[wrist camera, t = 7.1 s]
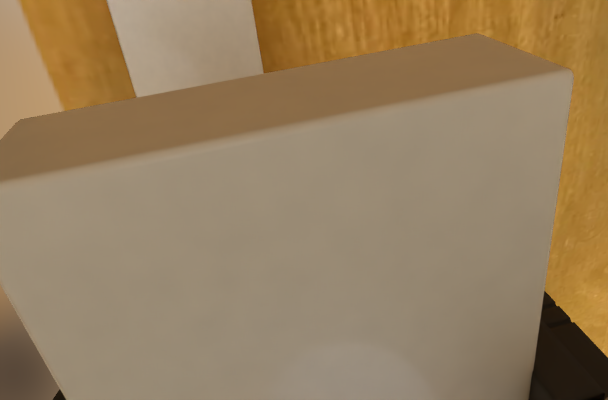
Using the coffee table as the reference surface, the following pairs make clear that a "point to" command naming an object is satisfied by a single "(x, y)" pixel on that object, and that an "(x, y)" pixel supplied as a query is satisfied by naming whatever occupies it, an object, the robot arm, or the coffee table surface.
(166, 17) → the beige box
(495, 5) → the coffee table surface
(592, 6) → the coffee table surface
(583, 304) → the coffee table surface
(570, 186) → the coffee table surface
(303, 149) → the thin cream book
